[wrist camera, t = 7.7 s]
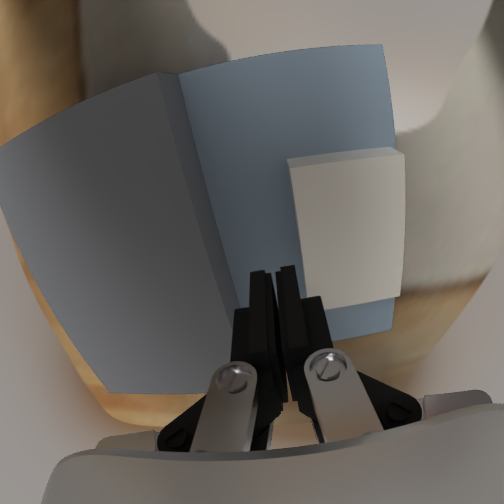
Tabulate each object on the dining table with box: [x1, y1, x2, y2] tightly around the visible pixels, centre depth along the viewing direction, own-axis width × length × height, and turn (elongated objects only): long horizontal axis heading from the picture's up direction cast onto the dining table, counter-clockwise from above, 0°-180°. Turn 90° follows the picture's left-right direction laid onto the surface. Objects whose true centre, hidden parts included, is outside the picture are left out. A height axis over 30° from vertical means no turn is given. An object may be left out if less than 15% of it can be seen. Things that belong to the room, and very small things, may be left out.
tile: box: [286, 147, 405, 310], centre depth 17 cm, size 9×6×2 cm, turn 11°
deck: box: [0, 72, 240, 394], centre depth 18 cm, size 20×12×4 cm, turn 11°
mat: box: [178, 45, 396, 342], centre depth 18 cm, size 20×11×1 cm, turn 11°
